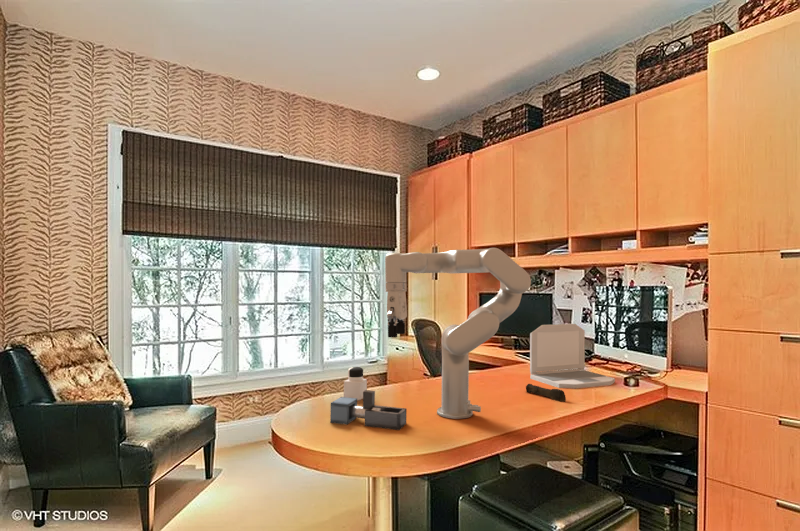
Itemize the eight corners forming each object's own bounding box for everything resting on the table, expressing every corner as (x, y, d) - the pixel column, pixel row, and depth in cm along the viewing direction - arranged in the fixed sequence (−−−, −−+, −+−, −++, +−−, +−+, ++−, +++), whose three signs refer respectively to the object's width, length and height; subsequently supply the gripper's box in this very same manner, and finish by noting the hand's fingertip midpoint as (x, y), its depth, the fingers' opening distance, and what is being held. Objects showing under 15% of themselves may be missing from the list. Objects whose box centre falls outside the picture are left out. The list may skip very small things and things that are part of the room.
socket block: (356, 417, 158) (357, 398, 158) (346, 424, 150) (347, 404, 151) (341, 415, 160) (341, 396, 160) (330, 422, 152) (330, 402, 152)
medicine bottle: (366, 396, 186) (367, 366, 187) (359, 400, 180) (360, 370, 180) (350, 394, 189) (351, 365, 189) (343, 399, 182) (343, 368, 182)
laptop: (564, 390, 202) (564, 330, 203) (529, 379, 225) (529, 325, 225) (621, 384, 215) (621, 328, 215) (582, 374, 237) (582, 323, 238)
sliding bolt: (381, 418, 153) (382, 391, 153) (377, 421, 149) (378, 393, 150) (343, 414, 157) (343, 387, 158) (338, 417, 154) (339, 390, 154)
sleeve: (406, 423, 152) (406, 408, 152) (399, 430, 145) (400, 414, 145) (372, 419, 156) (372, 405, 156) (364, 426, 149) (364, 410, 149)
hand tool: (525, 393, 196) (525, 382, 196) (531, 392, 198) (531, 381, 198) (560, 404, 180) (560, 392, 180) (567, 402, 182) (567, 391, 182)
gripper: (399, 288, 155) (399, 338, 155) (412, 287, 172) (412, 332, 171) (378, 288, 157) (378, 338, 157) (393, 287, 174) (393, 332, 174)
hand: (396, 335), depth 164 cm, fingers open, 9 cm apart
